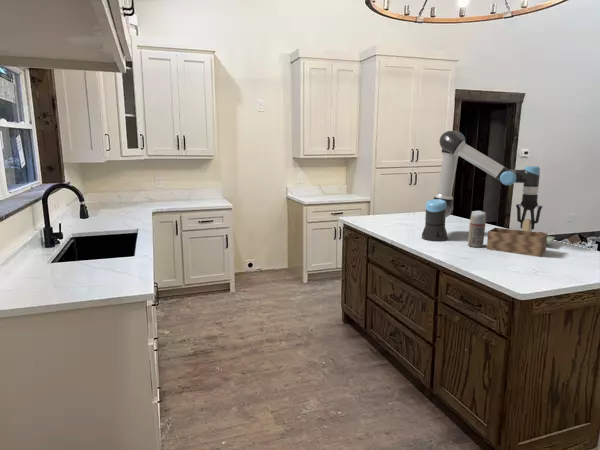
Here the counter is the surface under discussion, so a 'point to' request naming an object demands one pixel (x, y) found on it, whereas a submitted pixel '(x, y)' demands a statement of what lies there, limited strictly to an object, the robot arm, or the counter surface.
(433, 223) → the robot arm
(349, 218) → the counter surface
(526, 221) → the lid
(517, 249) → the wooden box
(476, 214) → the spray can
